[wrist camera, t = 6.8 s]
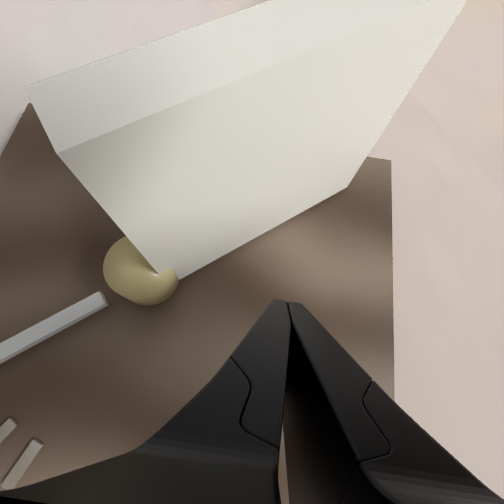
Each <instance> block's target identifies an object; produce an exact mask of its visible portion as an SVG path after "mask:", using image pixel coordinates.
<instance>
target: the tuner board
mask: <svg viewBox="0 0 504 504" xmlns="http://www.w3.org/2000/svg"><path fill="white" fill-rule="evenodd" d="M125 236H126V235H125V234H124V233H123V232H122V230H121V229H120V228H119V227H118V226H117V224H116V223H115V222H114V221H113V220H112V219H111V217H110V216H109V215H108V214H107V213H106V211H105V210H104V209H103V208H102V207H101V206H100V204H99V203H98V202H97V201H96V200H95V199H94V197H93V196H92V195H91V194H90V193H89V191H88V190H87V189H86V188H85V187H84V186H83V184H82V183H81V182H80V181H79V180H78V178H77V177H76V176H75V175H74V174H73V173H72V171H71V170H70V169H69V168H68V167H67V166H66V164H65V163H64V162H63V161H62V160H61V158H60V157H59V156H58V155H57V154H56V152H55V150H54V148H53V146H52V144H51V142H50V140H49V138H48V136H47V134H46V132H45V129H44V127H43V125H42V123H41V121H40V119H39V117H38V115H37V113H36V111H35V109H34V107H33V105H32V104H31V103H29V104H28V105H27V107H26V109H25V111H24V113H23V115H22V117H21V119H20V121H19V123H18V125H17V126H16V128H15V130H14V132H13V134H12V136H11V138H10V140H9V142H8V144H7V146H6V148H5V149H4V151H3V153H2V155H1V157H0V343H1V342H3V341H5V340H7V339H9V338H11V337H13V336H15V335H17V334H18V333H20V332H22V331H24V330H26V329H28V328H30V327H32V326H34V325H36V324H37V323H39V322H41V321H43V320H45V319H47V318H49V317H51V316H53V315H55V314H56V313H58V312H60V311H62V310H64V309H66V308H68V307H70V306H72V305H73V304H75V303H77V302H79V301H81V300H83V299H85V298H87V297H89V296H91V295H92V294H94V293H96V292H98V291H100V292H102V293H103V295H104V297H105V299H106V301H107V303H108V306H106V307H104V308H102V309H101V310H99V311H97V312H95V313H93V314H91V315H90V316H88V317H86V318H84V319H82V320H80V321H78V322H77V323H75V324H73V325H71V326H69V327H67V328H66V329H64V330H62V331H60V332H58V333H56V334H54V335H53V336H51V337H49V338H47V339H45V340H43V341H42V342H40V343H38V344H36V345H34V346H32V347H31V348H29V349H27V350H25V351H23V352H21V353H19V354H18V355H16V356H14V357H12V358H10V359H8V360H7V361H5V362H3V363H1V364H0V491H4V490H9V489H15V488H19V487H23V486H27V485H30V484H34V483H37V482H40V481H43V480H46V479H49V478H52V477H55V476H58V475H61V474H64V473H67V472H70V471H73V470H76V469H79V468H82V467H85V466H88V465H91V464H95V463H98V462H101V461H104V460H107V459H110V458H113V457H116V456H119V455H122V454H125V453H127V452H130V451H132V450H133V449H135V448H137V447H138V446H140V445H141V444H143V443H144V442H146V441H147V440H148V439H149V438H151V437H152V436H153V435H154V434H155V433H156V432H157V431H158V430H159V429H161V428H162V427H163V426H164V425H165V424H166V423H167V422H168V421H169V420H170V419H171V418H172V417H173V416H174V415H175V414H176V413H177V412H178V411H179V410H180V409H181V408H182V407H184V406H185V405H186V404H187V403H188V402H189V401H190V400H191V399H192V398H193V397H194V396H195V395H196V394H197V393H198V392H199V391H200V390H201V389H202V388H203V387H204V386H205V385H206V384H207V383H208V382H209V381H210V380H211V379H212V377H213V376H214V375H215V374H216V373H217V371H218V370H219V369H220V368H221V366H222V365H223V364H224V363H225V361H226V360H227V359H228V358H229V356H230V355H231V354H232V352H233V351H234V350H235V348H236V347H237V346H238V344H239V343H240V342H241V340H242V339H243V338H244V337H245V335H246V334H247V333H248V331H249V330H250V329H251V327H252V326H253V325H254V323H255V322H256V321H257V319H258V318H259V317H260V315H261V314H262V313H263V312H264V310H265V309H266V308H267V306H268V305H269V304H270V302H271V301H272V300H273V299H278V300H285V301H286V302H289V301H291V302H297V303H301V304H303V305H304V306H305V308H306V309H307V310H308V311H309V312H310V313H311V314H312V315H313V316H314V317H315V318H316V319H317V320H318V321H319V322H320V323H321V325H322V326H323V327H324V328H325V329H326V330H327V331H328V332H329V333H330V334H331V335H332V336H333V337H334V338H335V339H336V340H337V342H338V343H339V344H340V345H341V346H342V347H343V348H344V349H345V350H346V351H347V352H348V353H349V354H350V355H351V356H352V357H353V359H354V360H355V361H356V362H357V363H358V364H359V365H360V366H361V367H362V368H363V369H364V370H365V371H366V372H367V373H368V374H369V376H370V377H371V378H372V379H373V380H372V381H375V382H376V383H377V384H378V385H379V386H380V387H381V388H382V389H383V390H384V391H385V392H386V393H387V394H388V395H389V396H390V397H391V398H392V399H393V400H394V334H393V263H392V191H391V160H385V159H378V158H372V157H366V159H365V160H364V162H363V163H362V165H361V166H360V168H359V169H358V171H357V172H356V174H355V176H354V177H353V179H352V180H351V182H350V183H349V185H348V186H347V188H345V189H343V190H341V191H339V192H337V193H336V194H334V195H332V196H330V197H328V198H327V199H325V200H323V201H321V202H319V203H318V204H316V205H314V206H312V207H310V208H309V209H307V210H305V211H303V212H301V213H299V214H298V215H296V216H294V217H292V218H290V219H289V220H287V221H285V222H283V223H281V224H280V225H278V226H276V227H274V228H272V229H271V230H269V231H267V232H265V233H263V234H261V235H260V236H258V237H256V238H254V239H252V240H251V241H249V242H247V243H245V244H243V245H242V246H240V247H238V248H236V249H234V250H233V251H231V252H229V253H227V254H225V255H223V256H222V257H220V258H218V259H216V260H214V261H213V262H211V263H209V264H207V265H205V266H204V267H202V268H200V269H198V270H196V271H195V272H193V273H191V274H189V275H187V276H185V277H184V278H182V279H180V280H179V283H178V286H177V288H176V290H175V291H174V293H173V294H172V295H171V296H170V297H169V298H168V299H166V300H165V301H163V302H161V303H159V304H156V305H151V306H143V305H138V304H135V303H133V302H131V301H130V300H128V299H126V298H125V297H123V296H121V295H120V294H118V293H116V292H115V291H113V290H112V289H111V288H110V287H109V285H108V284H107V282H106V280H105V278H104V274H103V263H104V259H105V256H106V254H107V252H108V251H109V249H110V248H111V247H112V246H113V244H115V243H116V242H117V241H118V240H120V239H121V238H123V237H125ZM278 481H279V490H280V497H281V504H289V494H288V482H287V470H286V458H285V446H284V434H283V423H282V434H281V445H280V452H279V469H278Z"/></svg>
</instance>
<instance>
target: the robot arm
mask: <svg viewBox="0 0 504 504" xmlns="http://www.w3.org/2000/svg"><path fill="white" fill-rule="evenodd" d="M372 380H373V379H372V378H371V377H370V376H369V374H368V373H367V372H366V371H365V370H364V369H363V368H362V367H361V366H360V365H359V364H358V363H357V362H356V361H355V360H354V359H353V357H352V356H351V355H350V354H349V353H348V352H347V351H346V350H345V349H344V348H343V347H342V346H341V345H340V344H339V343H338V342H337V340H336V339H335V338H334V337H333V336H332V335H331V334H330V333H329V332H328V331H327V330H326V329H325V328H324V327H323V326H322V325H321V323H320V322H319V321H318V320H317V319H316V318H315V317H314V316H313V315H312V314H311V313H310V312H309V311H308V310H307V309H306V308H305V306H304V305H303V304H301V303H297V302H291V301H289V302H286V301H285V300H278V299H273V300H272V301H271V302H270V304H269V305H268V306H267V308H266V309H265V310H264V312H263V313H262V314H261V315H260V317H259V318H258V319H257V321H256V322H255V323H254V325H253V326H252V327H251V329H250V330H249V331H248V333H247V334H246V335H245V337H244V338H243V339H242V340H241V342H240V343H239V344H238V346H237V347H236V348H235V350H234V351H233V352H232V354H231V355H230V356H229V358H228V359H227V360H226V361H225V363H224V364H223V365H222V366H221V368H220V369H219V370H218V371H217V373H216V374H215V375H214V376H213V377H212V379H211V380H210V381H209V382H208V383H207V384H206V385H205V386H204V387H203V388H202V389H201V390H200V391H199V392H198V393H197V394H196V395H195V396H194V397H193V398H192V399H191V400H190V401H189V402H188V403H187V404H186V405H185V406H184V407H182V408H181V409H180V410H179V411H178V412H177V413H176V414H175V415H174V416H173V417H172V418H171V419H170V420H169V421H168V422H167V423H166V424H165V425H164V426H163V427H162V428H161V429H159V430H158V431H157V432H156V433H155V434H154V435H153V436H152V437H151V438H149V439H148V440H147V441H146V442H144V443H143V444H141V445H140V446H138V447H137V448H135V449H133V450H132V451H130V452H127V453H125V454H122V455H119V456H116V457H113V458H110V459H107V460H104V461H101V462H98V463H95V464H91V465H88V466H85V467H82V468H79V469H76V470H73V471H70V472H67V473H64V474H61V475H58V476H55V477H52V478H49V479H46V480H43V481H40V482H37V483H34V484H30V485H27V486H23V487H19V488H15V489H9V490H4V491H0V504H281V497H280V490H279V481H278V469H279V452H280V445H281V434H282V423H283V434H284V446H285V458H286V470H287V482H288V494H289V504H504V499H502V498H501V497H499V496H498V495H497V494H495V493H494V492H493V491H491V490H490V489H489V488H488V487H487V486H485V485H484V484H483V483H482V482H481V481H480V480H478V479H477V478H476V477H475V476H474V475H473V474H472V473H471V472H470V471H469V470H467V469H466V468H465V467H464V466H463V465H462V464H461V463H460V462H459V461H458V460H456V459H455V458H454V457H453V456H452V455H451V454H450V453H449V452H448V451H447V450H446V449H444V448H443V447H442V446H441V445H440V444H439V443H438V442H437V441H436V440H435V439H433V438H432V437H431V436H430V435H429V434H428V433H427V432H426V431H425V430H424V429H423V428H421V427H420V426H419V425H418V424H417V423H416V422H415V421H414V420H413V419H412V418H411V417H410V416H409V415H408V414H407V413H406V412H405V411H403V410H402V409H401V408H400V407H399V406H398V405H397V404H396V403H395V402H394V400H393V399H392V398H391V397H390V396H389V395H388V394H387V393H386V392H385V391H384V390H383V389H382V388H381V387H380V386H379V385H378V384H377V383H376V382H375V381H372Z"/></svg>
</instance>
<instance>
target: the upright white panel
mask: <svg viewBox="0 0 504 504" xmlns="http://www.w3.org/2000/svg"><path fill="white" fill-rule="evenodd" d="M466 2H467V0H270V1H267V2H264V3H261V4H258V5H255V6H253V7H250V8H247V9H244V10H241V11H238V12H236V13H233V14H230V15H227V16H224V17H221V18H218V19H216V20H213V21H210V22H207V23H204V24H201V25H199V26H196V27H193V28H190V29H187V30H184V31H182V32H179V33H176V34H173V35H170V36H167V37H164V38H162V39H159V40H156V41H153V42H150V43H147V44H145V45H142V46H139V47H136V48H133V49H130V50H127V51H125V52H122V53H119V54H116V55H113V56H110V57H108V58H105V59H102V60H99V61H96V62H93V63H91V64H88V65H85V66H82V67H79V68H76V69H73V70H71V71H68V72H65V73H62V74H59V75H56V76H54V77H51V78H48V79H45V80H42V81H39V82H36V83H34V84H31V85H28V86H25V87H24V89H25V91H26V93H27V95H28V97H29V99H30V101H31V103H32V105H33V107H34V109H35V111H36V113H37V115H38V117H39V119H40V121H41V123H42V125H43V127H44V129H45V132H46V134H47V136H48V138H49V140H50V142H51V144H52V146H53V148H54V150H55V152H56V154H57V155H58V156H59V157H60V158H61V160H62V161H63V162H64V163H65V164H66V166H67V167H68V168H69V169H70V170H71V171H72V173H73V174H74V175H75V176H76V177H77V178H78V180H79V181H80V182H81V183H82V184H83V186H84V187H85V188H86V189H87V190H88V191H89V193H90V194H91V195H92V196H93V197H94V199H95V200H96V201H97V202H98V203H99V204H100V206H101V207H102V208H103V209H104V210H105V211H106V213H107V214H108V215H109V216H110V217H111V219H112V220H113V221H114V222H115V223H116V224H117V226H118V227H119V228H120V229H121V230H122V232H123V233H124V234H125V235H126V236H125V237H123V238H121V239H120V240H118V241H117V242H116V243H115V244H113V246H112V247H111V248H110V249H109V251H108V252H107V254H106V256H105V259H104V263H103V274H104V278H105V280H106V282H107V284H108V285H109V287H110V288H111V289H112V290H113V291H115V292H116V293H118V294H120V295H121V296H123V297H125V298H126V299H128V300H130V301H131V302H133V303H135V304H138V305H143V306H151V305H156V304H159V303H161V302H163V301H165V300H166V299H168V298H169V297H170V296H171V295H172V294H173V293H174V291H175V290H176V288H177V286H178V283H179V280H180V279H182V278H184V277H185V276H187V275H189V274H191V273H193V272H195V271H196V270H198V269H200V268H202V267H204V266H205V265H207V264H209V263H211V262H213V261H214V260H216V259H218V258H220V257H222V256H223V255H225V254H227V253H229V252H231V251H233V250H234V249H236V248H238V247H240V246H242V245H243V244H245V243H247V242H249V241H251V240H252V239H254V238H256V237H258V236H260V235H261V234H263V233H265V232H267V231H269V230H271V229H272V228H274V227H276V226H278V225H280V224H281V223H283V222H285V221H287V220H289V219H290V218H292V217H294V216H296V215H298V214H299V213H301V212H303V211H305V210H307V209H309V208H310V207H312V206H314V205H316V204H318V203H319V202H321V201H323V200H325V199H327V198H328V197H330V196H332V195H334V194H336V193H337V192H339V191H341V190H343V189H345V188H347V186H348V185H349V183H350V182H351V180H352V179H353V177H354V176H355V174H356V172H357V171H358V169H359V168H360V166H361V165H362V163H363V162H364V160H365V159H366V157H367V155H368V154H369V152H370V151H371V149H372V148H373V146H374V145H375V143H376V141H377V140H378V138H379V137H380V135H381V134H382V132H383V131H384V129H385V127H386V126H387V124H388V123H389V121H390V120H391V118H392V117H393V115H394V114H395V112H396V110H397V109H398V107H399V106H400V104H401V103H402V101H403V100H404V98H405V96H406V95H407V93H408V92H409V90H410V89H411V87H412V86H413V84H414V82H415V81H416V79H417V78H418V76H419V75H420V73H421V72H422V70H423V69H424V67H425V65H426V64H427V62H428V61H429V59H430V58H431V56H432V55H433V53H434V51H435V50H436V48H437V47H438V45H439V44H440V42H441V41H442V39H443V38H444V36H445V34H446V33H447V31H448V30H449V28H450V27H451V25H452V24H453V22H454V20H455V19H456V17H457V16H458V14H459V13H460V11H461V10H462V8H463V6H464V5H465V3H466ZM106 306H108V303H107V301H106V299H105V297H104V295H103V293H102V292H100V291H98V292H96V293H94V294H92V295H91V296H89V297H87V298H85V299H83V300H81V301H79V302H77V303H75V304H73V305H72V306H70V307H68V308H66V309H64V310H62V311H60V312H58V313H56V314H55V315H53V316H51V317H49V318H47V319H45V320H43V321H41V322H39V323H37V324H36V325H34V326H32V327H30V328H28V329H26V330H24V331H22V332H20V333H18V334H17V335H15V336H13V337H11V338H9V339H7V340H5V341H3V342H1V343H0V364H1V363H3V362H5V361H7V360H8V359H10V358H12V357H14V356H16V355H18V354H19V353H21V352H23V351H25V350H27V349H29V348H31V347H32V346H34V345H36V344H38V343H40V342H42V341H43V340H45V339H47V338H49V337H51V336H53V335H54V334H56V333H58V332H60V331H62V330H64V329H66V328H67V327H69V326H71V325H73V324H75V323H77V322H78V321H80V320H82V319H84V318H86V317H88V316H90V315H91V314H93V313H95V312H97V311H99V310H101V309H102V308H104V307H106Z"/></svg>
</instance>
